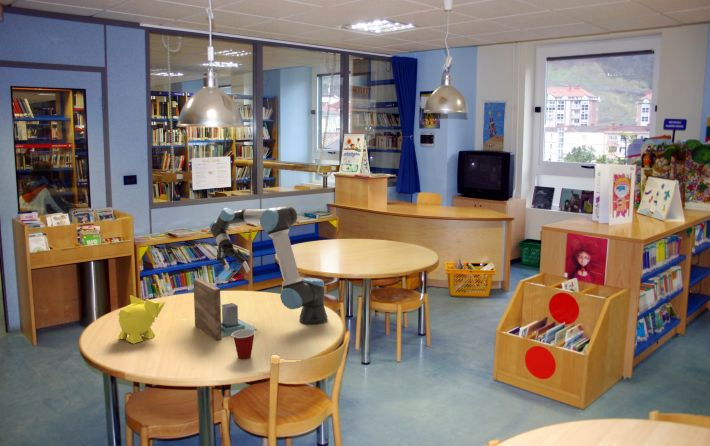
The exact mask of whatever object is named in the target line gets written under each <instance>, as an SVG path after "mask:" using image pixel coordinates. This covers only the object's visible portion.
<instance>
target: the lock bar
mask: <svg viewBox="0 0 710 446" xmlns="http://www.w3.org/2000/svg"><path fill="white" fill-rule="evenodd" d="M238 307H239V306H238V305H237V304H236V303H233V302H230V303H229V302H228V303H225V304H221V322H222V326H224V327H225V328H230V327H235V326H238V319H239V311H238V310H239V309H238Z"/></svg>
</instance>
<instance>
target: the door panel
mask: <svg viewBox="0 0 710 446" xmlns="http://www.w3.org/2000/svg"><path fill="white" fill-rule="evenodd" d="M192 281H193V305H194V327H195V328H197V329H198V330H199V331H201V332H202V333H204V334H205V335H207V336H208V337H210V338H211V339H213V340H214V341H222V338H223V337H221V322H222V303H221V288H219V287H218V286H216V285H214V284H212V283H210V282H208V281H206V280H204V279H202V278H200V277H196V278H193V279H192Z"/></svg>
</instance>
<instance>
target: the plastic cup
mask: <svg viewBox="0 0 710 446" xmlns="http://www.w3.org/2000/svg"><path fill="white" fill-rule="evenodd" d="M255 334H256V330H252V329H243V330H238V331H235V332H233V333H232V334H231V335H230V336H231V337H232V338H233V342H234V344H235V345H234V346H235V351H236V355H237V359H239V360H250V358H251V357H252V352H253V346H254V339H255Z"/></svg>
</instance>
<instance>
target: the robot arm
mask: <svg viewBox="0 0 710 446" xmlns="http://www.w3.org/2000/svg"><path fill="white" fill-rule="evenodd" d="M297 221H298V212H297V210H296V209H295V208H294V207H293V206H290V205H282V206H274V207H269V208H265V209H264V208H259V209H257V208H256V209H255V208H254V209H253V208H252V209H249V208H243V209H236V210H233V209H232V208H230V207H224V208H223V209H222V210H221V211H220V213H219V215H218V217H217V220H215V221H213V222H212V223H211V222H210V225H209V230H210V232H211V234H212V236H213V238H214V240H215V242H216V244H217V246H218V248H217V249H216V252H217V253H216V254H217V255H216V261H217V262H218V263H220V264H221V265H222V266H223V268H224V270H225V271H226V272H228V271H229V270H230V268H231V267H230V265H229V263H228V261H227V260H226V256H227V257H232V258H234V259H236V260H237V261H238V262H240V263H242V264H241V265H242V266H243V269H244V270H245V272H246V274H249V272H250V271H251V268H250V266H249V262H250V260H249V258H248V257H247V256H246V255H244V253H242V252H241V250H240V249H239V248H237V249H235V248H234V244H233V242H232V240H231V238H230V236H229V234H228V233H227V231H228V229H229V227H230V225H235V224H241V223H243V224H244V223H259V224H260V228H262V229H263V231H265V232H267V235H268V237H270V238H271V239H272V243H273V247H274V251H275V254H276V258H277V262H278V265H279V270H280V272H281V276H282V278H283V283H282V285H281V286H282V287H281V288H282V290H281V291H280V301H281V303H282V305H284V307H286V308H287V309H289V310H296V309H297V310H298V309H300V308H301V312H300V315H299V322H301V323H302V324H306V325H320V324H324V323H326V322H327V321H328V314H327V312H326V311H327V310H326V307H325V281H324V280H323V279H320V278H316V277H315V278H313V277H304V278H301V276H300V274H299V269H298V266H297V262H296V258H295V255H294V251H293V247H292V244H291V239H290V236H289V233H290V227H292V226H294V225H295V224H296V223H297ZM222 253H223V254H222Z"/></svg>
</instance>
